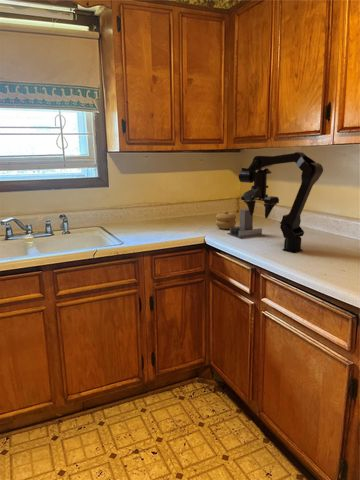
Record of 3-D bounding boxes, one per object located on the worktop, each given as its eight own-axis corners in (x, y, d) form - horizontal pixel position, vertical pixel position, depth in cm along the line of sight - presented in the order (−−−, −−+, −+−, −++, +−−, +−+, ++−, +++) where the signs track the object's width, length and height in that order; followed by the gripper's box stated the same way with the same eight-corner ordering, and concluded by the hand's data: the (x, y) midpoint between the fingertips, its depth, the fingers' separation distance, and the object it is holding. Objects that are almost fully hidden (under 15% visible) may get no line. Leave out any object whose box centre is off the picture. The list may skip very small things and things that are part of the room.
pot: (219, 225, 223) (219, 209, 220) (238, 227, 218) (239, 210, 215) (212, 229, 212) (212, 212, 210) (232, 231, 207) (232, 213, 205)
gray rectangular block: (252, 234, 197) (253, 209, 194) (244, 235, 195) (245, 210, 192) (246, 232, 201) (247, 208, 198) (238, 233, 199) (239, 209, 196)
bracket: (264, 235, 196) (265, 229, 195) (240, 238, 189) (241, 232, 189) (250, 231, 207) (250, 224, 206) (226, 233, 201) (227, 227, 200)
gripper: (233, 183, 176) (232, 216, 179) (263, 186, 161) (261, 221, 165) (250, 181, 182) (249, 213, 186) (280, 184, 167) (278, 219, 171)
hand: (258, 216), depth 177 cm, fingers open, 9 cm apart
